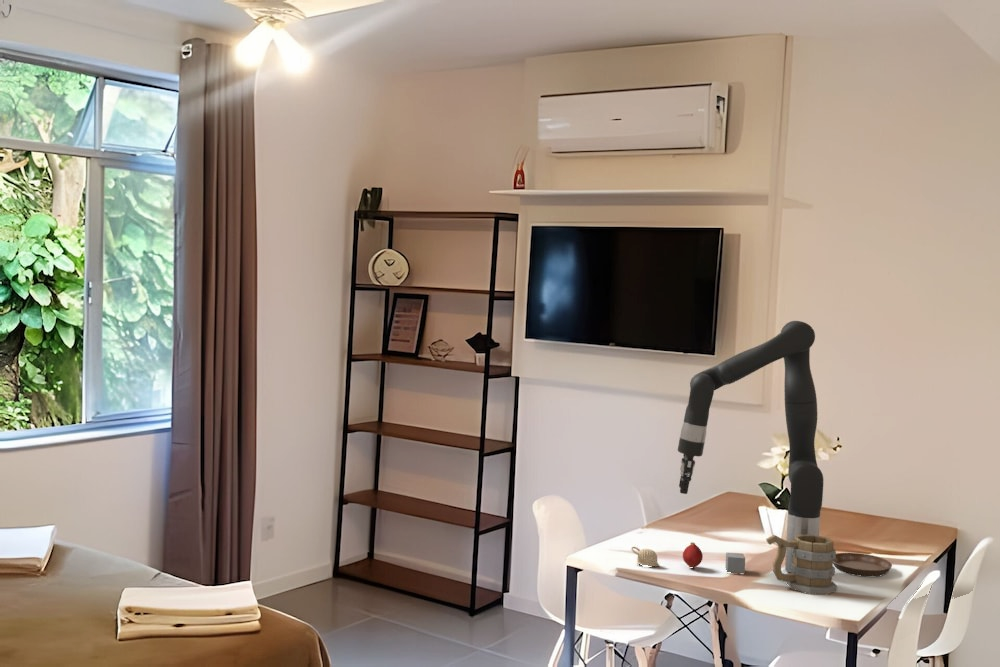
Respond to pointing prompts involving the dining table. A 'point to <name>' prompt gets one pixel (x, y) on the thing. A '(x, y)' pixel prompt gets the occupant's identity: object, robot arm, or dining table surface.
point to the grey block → (735, 562)
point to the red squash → (692, 555)
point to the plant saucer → (861, 564)
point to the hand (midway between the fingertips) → (682, 490)
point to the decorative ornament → (646, 557)
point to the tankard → (807, 563)
